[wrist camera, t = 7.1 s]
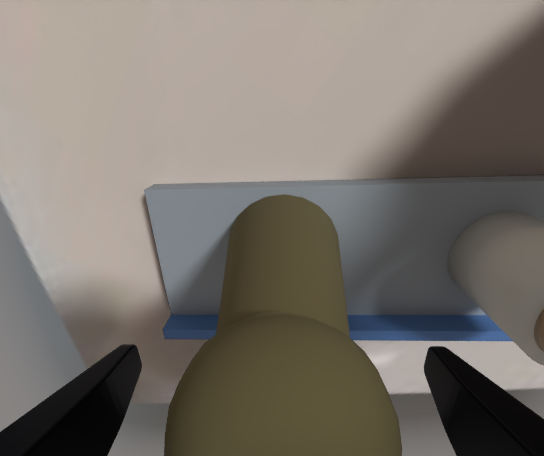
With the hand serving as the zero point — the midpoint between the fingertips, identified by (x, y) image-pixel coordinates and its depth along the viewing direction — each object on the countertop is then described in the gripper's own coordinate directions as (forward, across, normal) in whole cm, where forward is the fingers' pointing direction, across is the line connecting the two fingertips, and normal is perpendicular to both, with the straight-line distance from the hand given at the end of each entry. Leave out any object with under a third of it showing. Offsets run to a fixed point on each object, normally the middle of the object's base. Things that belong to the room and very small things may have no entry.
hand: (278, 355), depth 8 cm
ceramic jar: (+7, -12, 0) cm, 14 cm away
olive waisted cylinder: (+7, 0, 0) cm, 7 cm away
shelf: (+8, -4, 0) cm, 9 cm away
